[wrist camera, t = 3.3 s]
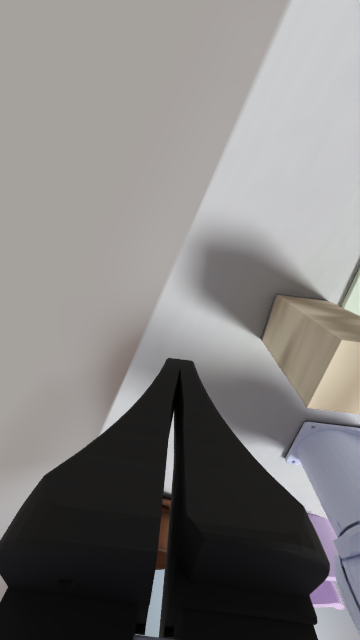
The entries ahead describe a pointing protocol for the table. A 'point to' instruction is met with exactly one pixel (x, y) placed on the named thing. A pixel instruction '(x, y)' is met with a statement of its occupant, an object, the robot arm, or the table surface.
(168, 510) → the cup and saucer
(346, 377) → the maple block
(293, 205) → the table surface
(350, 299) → the mat
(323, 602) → the clip
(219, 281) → the table surface
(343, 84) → the table surface
